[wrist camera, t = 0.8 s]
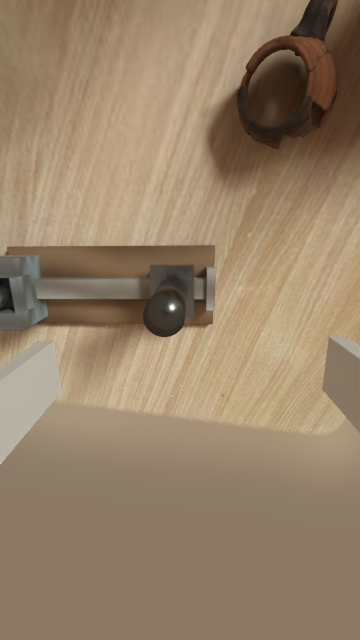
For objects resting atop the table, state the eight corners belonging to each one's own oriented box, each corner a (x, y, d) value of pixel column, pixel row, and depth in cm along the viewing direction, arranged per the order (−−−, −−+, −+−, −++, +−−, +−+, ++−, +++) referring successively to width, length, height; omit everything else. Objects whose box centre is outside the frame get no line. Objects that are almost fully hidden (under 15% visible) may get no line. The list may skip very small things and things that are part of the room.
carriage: (153, 262, 35) (130, 279, 22) (194, 262, 35) (195, 279, 22) (155, 309, 37) (135, 351, 24) (193, 310, 37) (194, 351, 24)
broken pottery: (318, 158, 33) (305, 153, 26) (243, 144, 36) (216, 136, 30) (374, 13, 26) (374, -40, 20) (277, 12, 30) (251, -33, 24)
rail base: (11, 246, 37) (-29, 249, 30) (214, 245, 36) (219, 248, 29) (24, 320, 39) (-10, 338, 33) (212, 321, 38) (216, 340, 32)
